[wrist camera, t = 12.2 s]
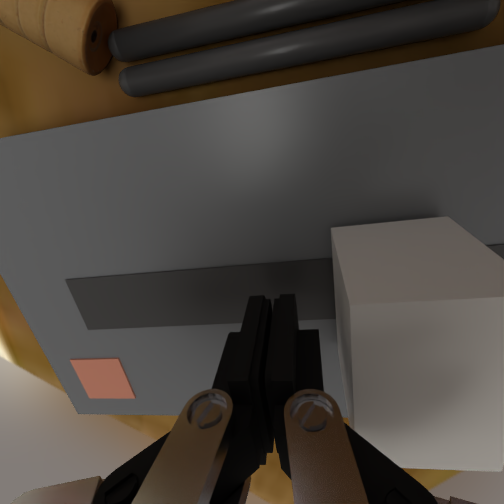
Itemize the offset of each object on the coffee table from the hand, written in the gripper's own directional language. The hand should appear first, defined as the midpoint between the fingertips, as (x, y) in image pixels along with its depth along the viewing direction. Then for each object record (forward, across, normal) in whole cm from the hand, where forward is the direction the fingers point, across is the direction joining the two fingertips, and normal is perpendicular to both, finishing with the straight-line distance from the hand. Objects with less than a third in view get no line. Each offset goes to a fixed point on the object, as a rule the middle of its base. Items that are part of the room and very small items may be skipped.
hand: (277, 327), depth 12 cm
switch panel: (+7, +1, -2) cm, 7 cm away
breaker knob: (+2, -4, 0) cm, 5 cm away
